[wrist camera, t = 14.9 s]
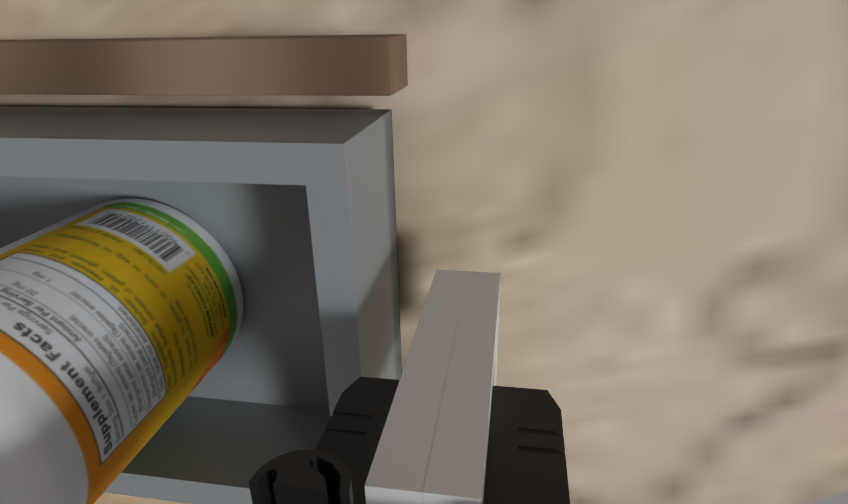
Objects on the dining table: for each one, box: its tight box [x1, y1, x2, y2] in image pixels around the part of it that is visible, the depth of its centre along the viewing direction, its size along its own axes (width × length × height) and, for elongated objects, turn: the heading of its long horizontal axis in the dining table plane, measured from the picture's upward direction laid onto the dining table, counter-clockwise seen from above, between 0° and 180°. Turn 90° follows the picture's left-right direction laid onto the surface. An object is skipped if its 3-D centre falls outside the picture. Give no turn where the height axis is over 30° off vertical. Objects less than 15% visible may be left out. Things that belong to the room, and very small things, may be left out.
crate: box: [0, 106, 402, 504], centre depth 15 cm, size 14×10×4 cm
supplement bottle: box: [0, 198, 243, 504], centre depth 11 cm, size 5×5×10 cm
